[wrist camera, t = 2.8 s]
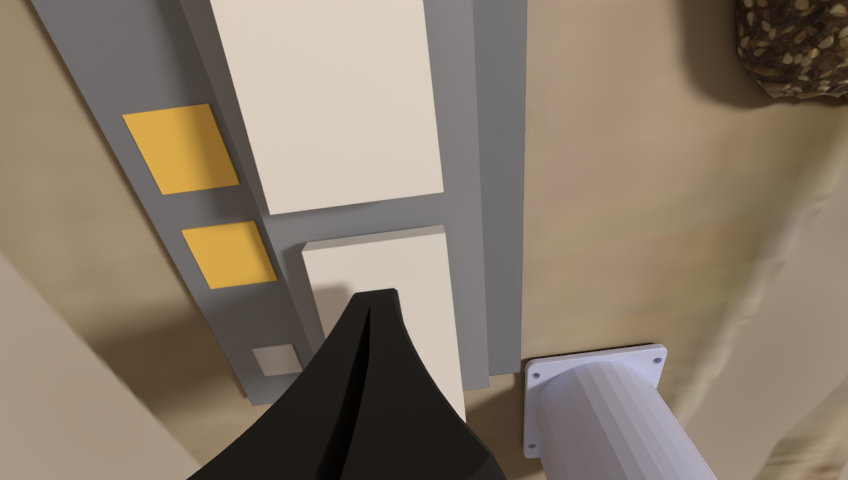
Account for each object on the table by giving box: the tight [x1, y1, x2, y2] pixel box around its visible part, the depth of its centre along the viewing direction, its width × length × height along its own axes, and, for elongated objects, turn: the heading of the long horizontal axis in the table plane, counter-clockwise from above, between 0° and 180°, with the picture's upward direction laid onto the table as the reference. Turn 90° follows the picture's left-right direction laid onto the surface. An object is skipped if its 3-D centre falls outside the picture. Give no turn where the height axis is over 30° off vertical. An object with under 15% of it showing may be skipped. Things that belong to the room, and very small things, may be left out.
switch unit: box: [31, 0, 527, 406], centre depth 15 cm, size 24×15×2 cm, turn 7°
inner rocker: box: [302, 225, 466, 423], centre depth 16 cm, size 9×5×1 cm, turn 6°
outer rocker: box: [210, 0, 444, 215], centre depth 10 cm, size 9×5×1 cm, turn 6°
